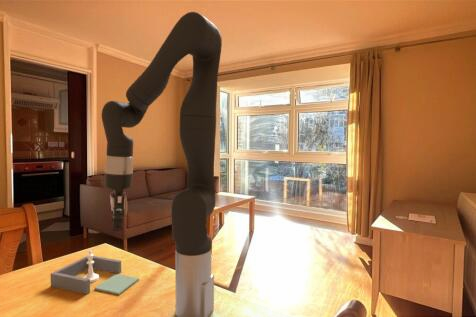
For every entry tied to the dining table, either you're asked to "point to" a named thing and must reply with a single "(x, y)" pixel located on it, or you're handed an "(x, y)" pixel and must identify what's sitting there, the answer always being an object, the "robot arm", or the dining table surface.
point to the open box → (67, 277)
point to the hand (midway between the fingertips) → (116, 225)
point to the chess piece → (91, 268)
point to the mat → (117, 284)
